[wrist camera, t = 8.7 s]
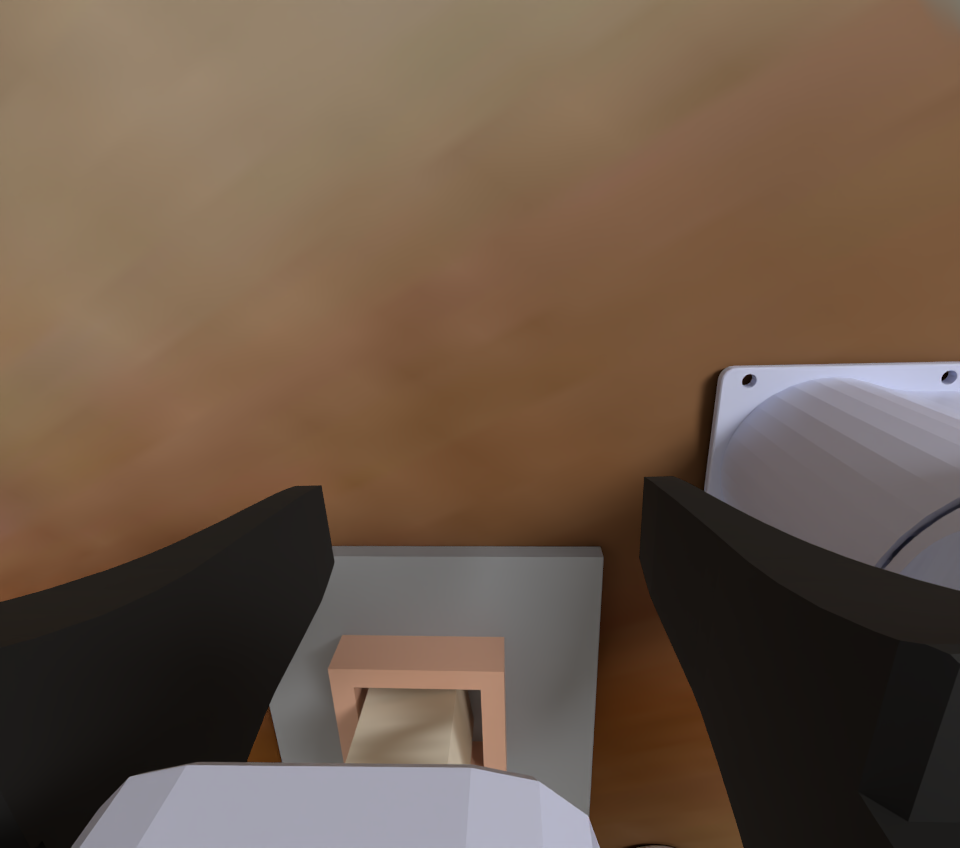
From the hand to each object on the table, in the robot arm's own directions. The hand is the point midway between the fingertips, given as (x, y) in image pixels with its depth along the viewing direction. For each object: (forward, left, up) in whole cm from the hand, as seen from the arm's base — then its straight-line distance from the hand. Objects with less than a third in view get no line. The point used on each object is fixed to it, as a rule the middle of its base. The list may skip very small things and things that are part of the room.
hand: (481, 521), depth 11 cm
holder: (+3, +15, -9) cm, 18 cm away
